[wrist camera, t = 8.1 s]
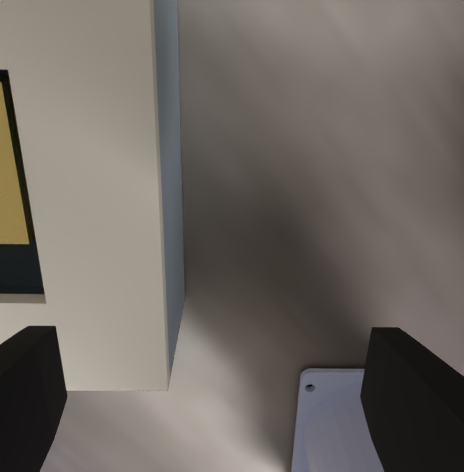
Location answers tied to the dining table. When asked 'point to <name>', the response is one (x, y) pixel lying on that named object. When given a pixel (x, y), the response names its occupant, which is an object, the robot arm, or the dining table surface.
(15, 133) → the gold block
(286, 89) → the dining table surface
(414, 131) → the dining table surface
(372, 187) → the dining table surface
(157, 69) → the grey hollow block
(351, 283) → the dining table surface
